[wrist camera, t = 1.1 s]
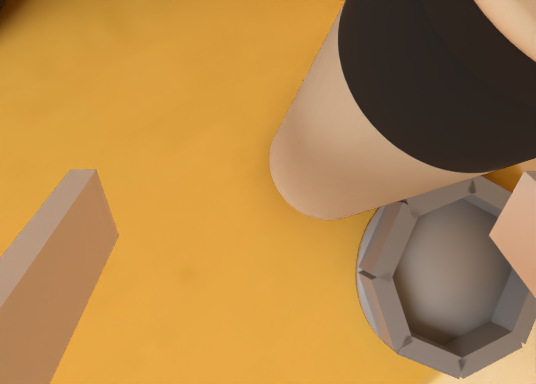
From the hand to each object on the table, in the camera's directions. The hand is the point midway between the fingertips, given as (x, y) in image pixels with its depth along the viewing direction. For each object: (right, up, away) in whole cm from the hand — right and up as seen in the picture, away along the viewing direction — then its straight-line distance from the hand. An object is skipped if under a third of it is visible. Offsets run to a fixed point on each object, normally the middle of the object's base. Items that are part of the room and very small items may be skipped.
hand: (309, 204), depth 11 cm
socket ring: (+13, -6, +16) cm, 21 cm away
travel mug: (+3, +2, +13) cm, 14 cm away
